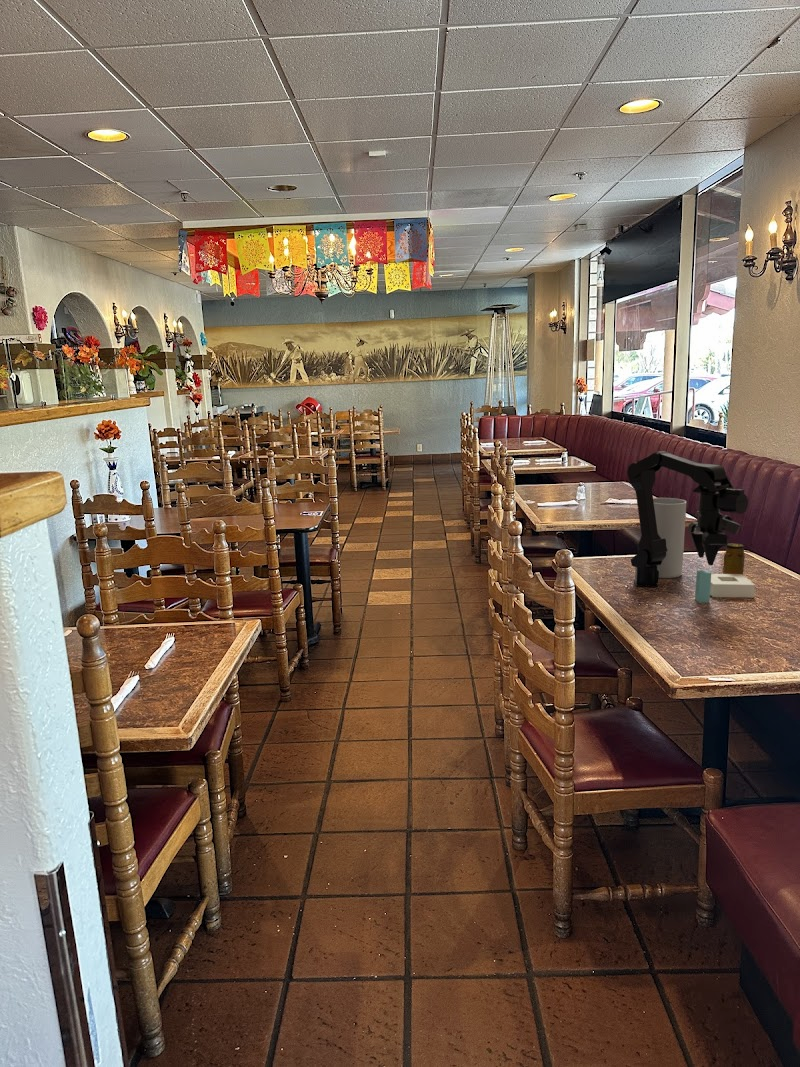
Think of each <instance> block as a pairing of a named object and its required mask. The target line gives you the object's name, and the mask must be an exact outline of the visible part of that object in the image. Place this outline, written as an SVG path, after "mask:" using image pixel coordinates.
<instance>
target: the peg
mask: <svg viewBox="0 0 800 1067" xmlns="http://www.w3.org/2000/svg"><path fill="white" fill-rule="evenodd" d="M711 574H712V572H711V571H710V570H707V569H705V570H703V569H697V570H696V580H695V581H696V582H695V596H694V597H695V598H694V600H696V602H697V603H706V604H707V603H710V596H711V595H710V585H711Z"/></svg>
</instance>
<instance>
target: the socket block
mask: <svg viewBox="0 0 800 1067" xmlns="http://www.w3.org/2000/svg"><path fill="white" fill-rule="evenodd" d="M751 581H752V580H750V579H749V578H747V577H746V576H745V575H744V574H743V575H742V574H723V573H711V585H710V596H711V597H712V598H750V599H751V598H753V599H754V598H755V592H756V584H755V583H753V582H751Z"/></svg>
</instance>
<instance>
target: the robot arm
mask: <svg viewBox="0 0 800 1067" xmlns="http://www.w3.org/2000/svg"><path fill="white" fill-rule="evenodd" d="M662 468H666V469H668V470H671V471H674V472H677V473H679V474H682V475H685V476H688V477H689V478H691V480H692V481H693V482H695V483H697V484H698V485H697V486H696V487H695V488H694V489H693V490H692V492H693V493H699V495H698V496H699V499H698V501H699V502H698V510H696V512H695V514H696V515H697V521H691V522H689V523H688V527H687V528H688V530H687V531H688V532H689V535H690V537H691V540H692V543H693V544H694V547H695V549H696V552H697V555H698V557H699V558H704V556H705V559H706V562H707V565H708V566H713V565H714V562H715V560H716V558H717V555H718V553H719V551H720V549H721V548H723V547H726V545H727V544H729V541H730V540H729V538H730V537H729V536H728V535H727V534H726V533H725V532H728V533H731V534H732V535H733V536H737V534H738V532H739V530H740V528H741V524H739V523H738V522H735V521H734V520H733V517H731V516H730V515H726V514H724V515H723V513H721V512H725V513H731V514H739V515H742V514H744V513H745V512H746V511H747V509H748V506H749V500H748V496H747V495H746V494H745V489H741V488H737V489H736V488H734V486H733V485H732V482H731V481H730V479H729V478H728V476H727V473H726V470H725V468H724V466H722V465H719V464H711V463H699V462H696V461H692V460H691V459H687V458H684V457H680V456H678V455H676V454H675V455H674V454H672V453H669V451H664V450H662V451H654V452H653V453H651V454H650V455H649V456H646V457H644V458H643V459H641V460H638V461H637V462H632V463H630V465H628V467H627V469H626V475H627V477H628V481H629V484H630V485H631V487H632V488H633V490H634V491H635V495H636V496H635V497H636V498H635V499H636V504H637V511H638V518H639V519H638V520H639V524H640V525H639V526H640V527H639V528H640V533H641V536H640V538H639V542H638V544H637V553H636V554H635V555H634V556H633V557H632V558H631V559H630V564H631V567H634V579H633V582H634V585H635V586H637V587H649V588H650V587H657V588H658V587H659V582H660V581H659V579H660V578H659V571H658V570H657V565H661V563H662V561H663V559H664V558H665V557H666V551H668V550H667V547H666V539H665V538H664V539H661V537H660V536H659V535H658V532H657V524H656V516H655V509H654V501H653V498H654V494H653V488H654V484H655V481H656V473H657V472H659V471H660V470H662ZM720 511H721V512H720ZM723 531H725V532H723Z"/></svg>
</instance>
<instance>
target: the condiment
mask: <svg viewBox="0 0 800 1067" xmlns="http://www.w3.org/2000/svg"><path fill="white" fill-rule="evenodd" d="M744 552H745V545H743V544H741V543H734V542H731V543H728V544H726V545H725V552H724V553H723V554H724V555H723V566H722V574H742V575H744V570H745V559H746V558H745V557H746V556H745V555H746V554H745V553H744ZM750 581H751V582H752V583H753V582H754V580H750Z"/></svg>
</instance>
